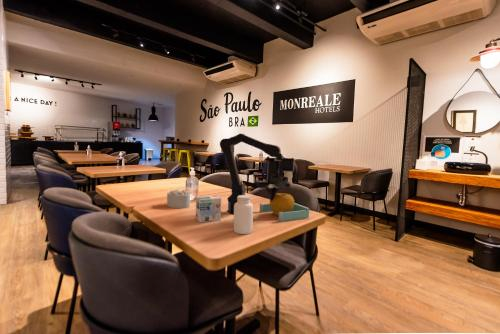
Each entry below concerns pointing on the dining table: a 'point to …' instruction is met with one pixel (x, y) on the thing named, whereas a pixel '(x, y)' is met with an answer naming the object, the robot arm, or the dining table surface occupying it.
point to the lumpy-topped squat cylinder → (178, 199)
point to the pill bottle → (243, 215)
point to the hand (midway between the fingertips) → (271, 200)
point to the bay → (296, 212)
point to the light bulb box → (208, 208)
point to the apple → (282, 203)
